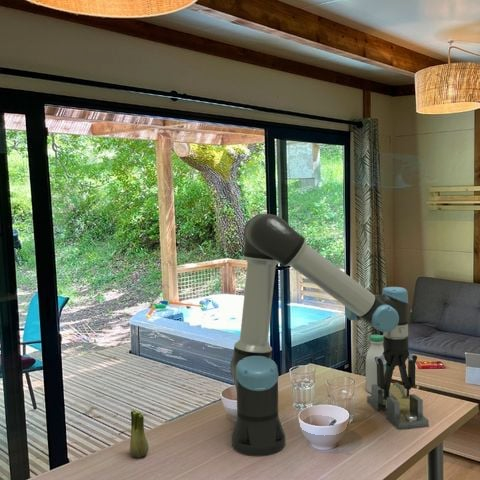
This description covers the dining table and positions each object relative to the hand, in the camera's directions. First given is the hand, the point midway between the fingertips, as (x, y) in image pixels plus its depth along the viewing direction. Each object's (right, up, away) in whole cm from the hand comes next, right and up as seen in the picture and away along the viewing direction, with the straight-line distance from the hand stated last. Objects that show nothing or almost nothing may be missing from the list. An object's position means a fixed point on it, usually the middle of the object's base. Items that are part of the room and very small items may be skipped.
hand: (396, 408), depth 163 cm
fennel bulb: (-77, -5, -23) cm, 81 cm away
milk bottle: (-1, -1, +20) cm, 20 cm away
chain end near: (+1, -2, -7) cm, 7 cm away
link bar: (0, 0, 0) cm, 0 cm away
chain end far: (-1, -1, +7) cm, 7 cm away
